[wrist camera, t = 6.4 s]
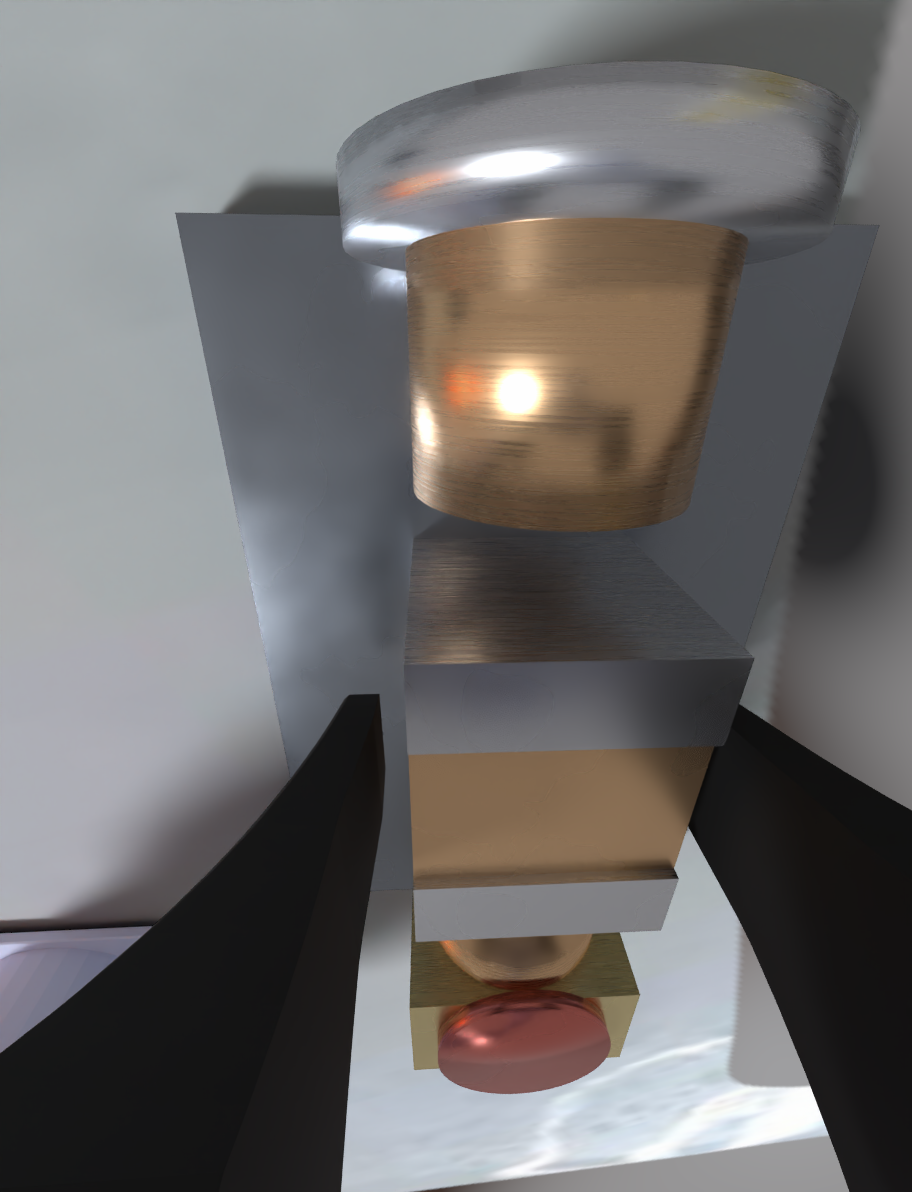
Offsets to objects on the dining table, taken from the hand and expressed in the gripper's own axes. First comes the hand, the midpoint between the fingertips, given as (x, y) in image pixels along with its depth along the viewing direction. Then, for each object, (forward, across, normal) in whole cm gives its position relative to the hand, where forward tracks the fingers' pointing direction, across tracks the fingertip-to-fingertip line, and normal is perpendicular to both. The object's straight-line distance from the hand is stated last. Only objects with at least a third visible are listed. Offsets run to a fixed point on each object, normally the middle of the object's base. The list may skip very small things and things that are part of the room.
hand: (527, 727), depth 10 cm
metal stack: (+4, 0, 0) cm, 4 cm away
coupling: (+2, 0, 0) cm, 2 cm away
